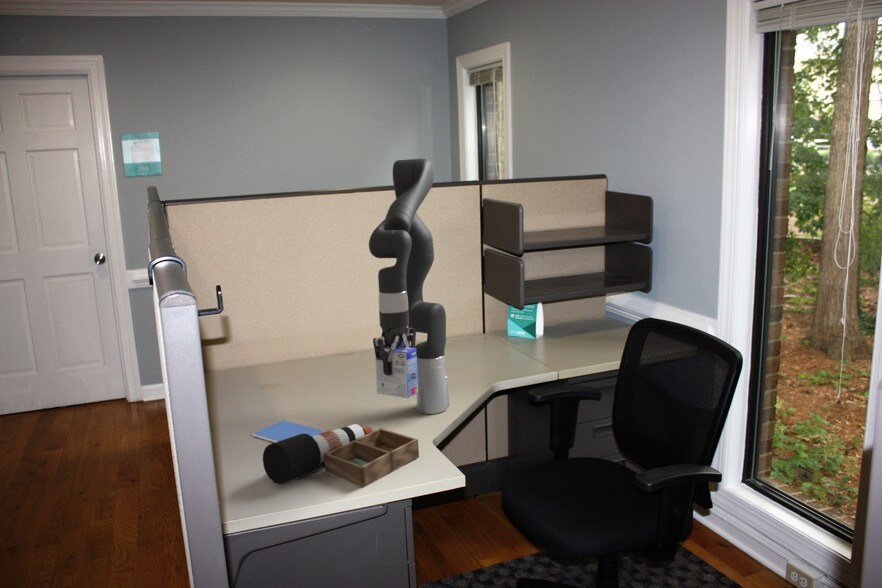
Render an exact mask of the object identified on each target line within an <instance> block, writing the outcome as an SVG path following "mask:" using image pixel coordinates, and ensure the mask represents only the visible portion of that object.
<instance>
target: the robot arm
mask: <svg viewBox="0 0 882 588" xmlns="http://www.w3.org/2000/svg"><path fill="white" fill-rule="evenodd" d="M434 178H435V177H434V168H433V164H432V162H431V161H430V160H429V159H427V158H411V159H410V158H409V159H398V160H395V162H394V163H393V165H392V181H393V183H392V184H393V188H394V194H395V200H393V202H392V203H391V204H390V206H389V209H388V210H387V212H386V215H385V218H384V219H383V220H382V221H381V222H380V223H379V224H378V226H377V227H375V228H374V230H373V232H372V233H371V235H370V237H369V239H368V249H369V252H370V254H371V255H372V256H373V257H375V258H376V259H395V264H394V265H391V266H386V267H383V268H381V269H379V270H378V273H377V275H378V276H377V277H378V279H377V280H378V281H377V283H378V315H379V318H378V319H379V327H380V328H381V336H379V337H373V338H372V343H373V349H374V355H376V357H375V360H376V359H377V360H381V361H383V372H384V374H385V375H388V376H390V375H392V361H391V358H392V354H393V353H394V352H395V348H397V347H398V346H400V345H401V343H402V341H403V342H404V343H403V347H406V348H407V347H410V348H416V352H417V378H418V393H417V394H415V396H416V410H417V412H419V413H421V414H426V415H435V414H440V413H443V412H445V411H447V409H448V407H450V397H449V396H450V395H449V394H450V393H449V378H448V376H447V374H446V354H445V352H446V351H445V350H446V342H447V315H446V310H445V308H444V306H443V305H442V304H440V303H438V302H428V301H424V296H423V293H424V292H423V289H424V283H425V280H426V278H427V276H428V274H429V272H430V270H431V268H432V266H433V263H434V261H435V252H434V251H435V250H434V249H435V248H434V239H433V235H432V233H431V231H430V229H429V228H428V227H427V225H426V223H424V221H423V220H422V219H421V218H420V216H419V214H418V213H417V211H418V210H419V208H420V206H421V205H422V203H423V202H424V201H425V200H426V197H427V196H428V194H429V193H430V191H431V189H432V187H433V183H434ZM417 333H421V334H426V335H427V336H426V341H422V342H419V343H417V344H416V342H417V341H416V339H417V338H416V337H417ZM387 347H389V348H390V349H387ZM387 352H388V356H386V355H387ZM380 353H381V355H380Z"/></svg>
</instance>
